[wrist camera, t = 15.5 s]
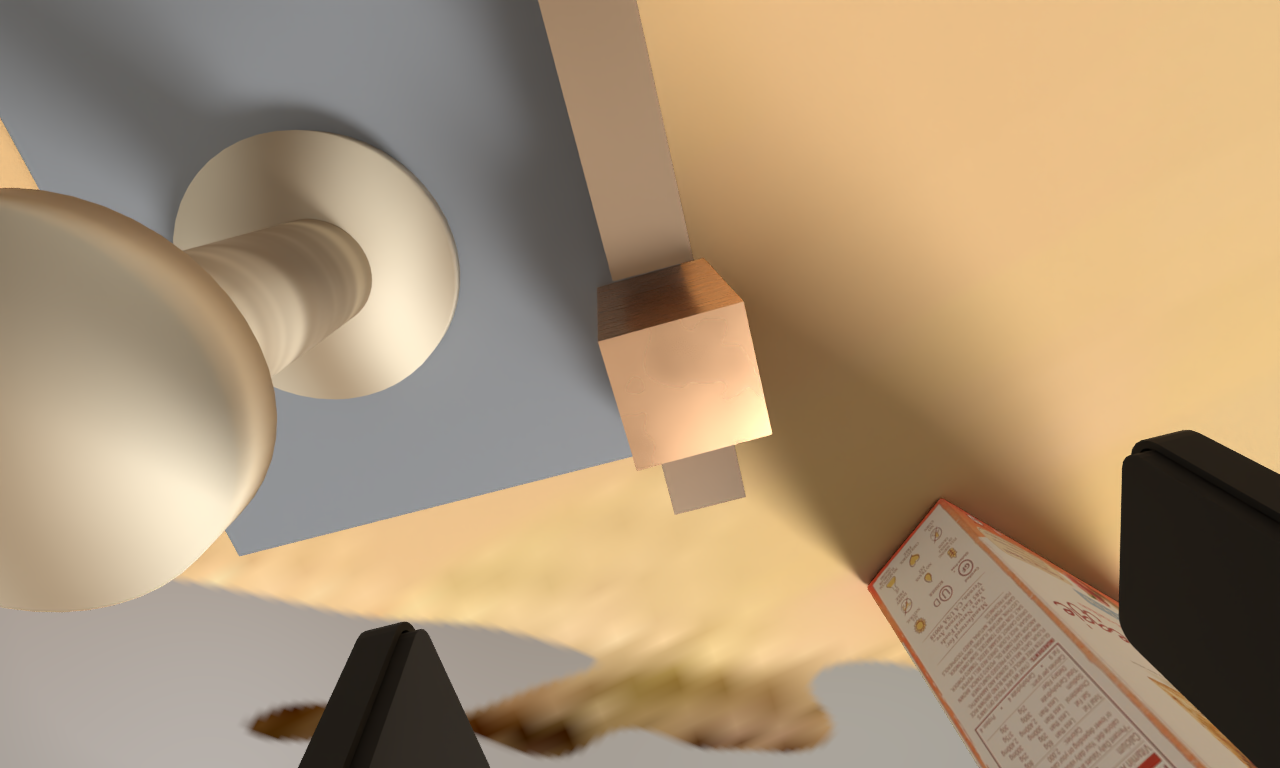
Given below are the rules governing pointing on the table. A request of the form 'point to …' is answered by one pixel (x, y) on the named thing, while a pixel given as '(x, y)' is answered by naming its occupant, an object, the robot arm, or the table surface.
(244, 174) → the bobbin
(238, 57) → the grey board with ledge
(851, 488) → the table surface
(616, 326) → the copper block
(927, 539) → the cracker box
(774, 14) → the table surface
